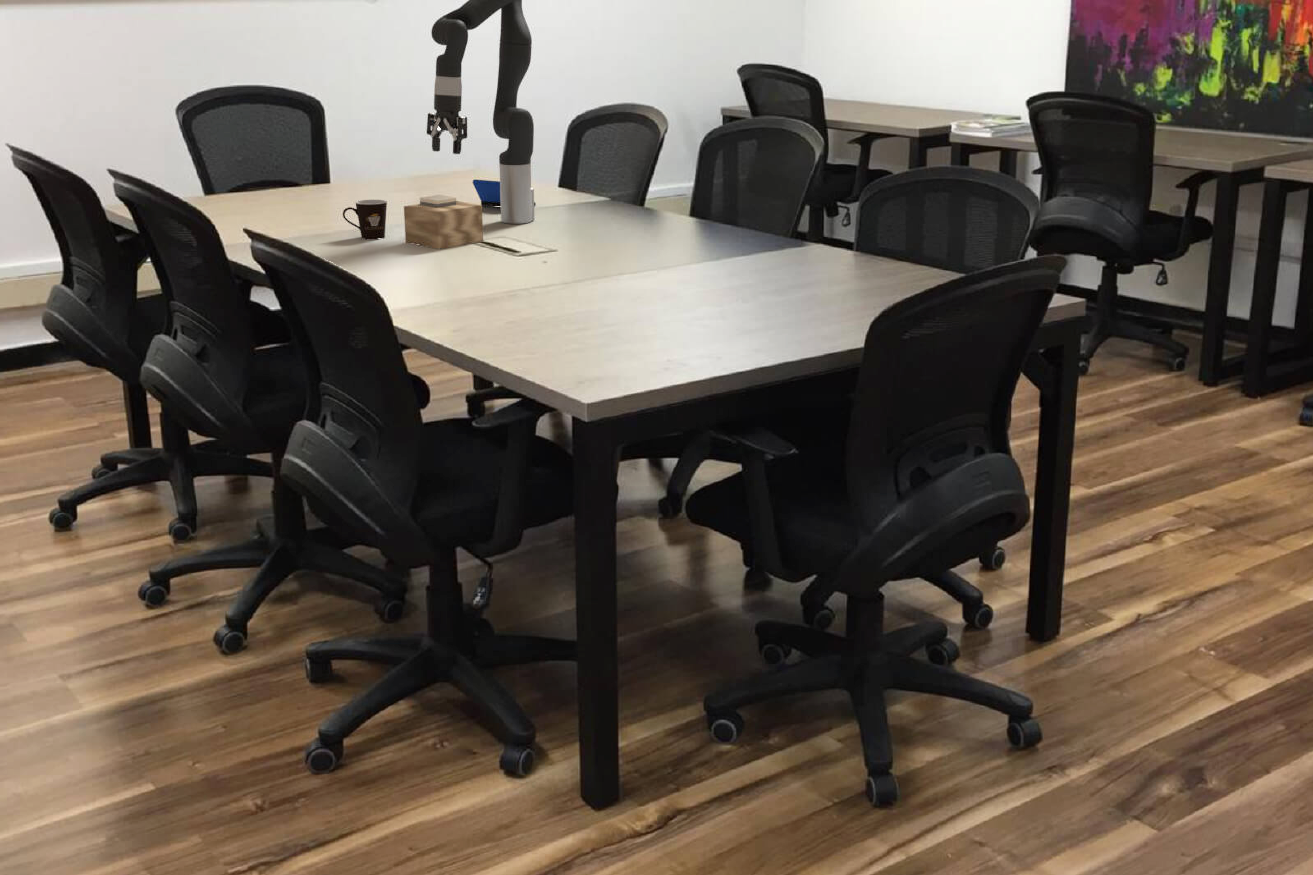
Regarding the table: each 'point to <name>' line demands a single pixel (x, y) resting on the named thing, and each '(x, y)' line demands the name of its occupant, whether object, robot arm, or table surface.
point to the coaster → (438, 201)
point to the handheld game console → (488, 192)
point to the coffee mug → (370, 218)
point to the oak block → (443, 225)
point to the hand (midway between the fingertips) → (446, 152)
